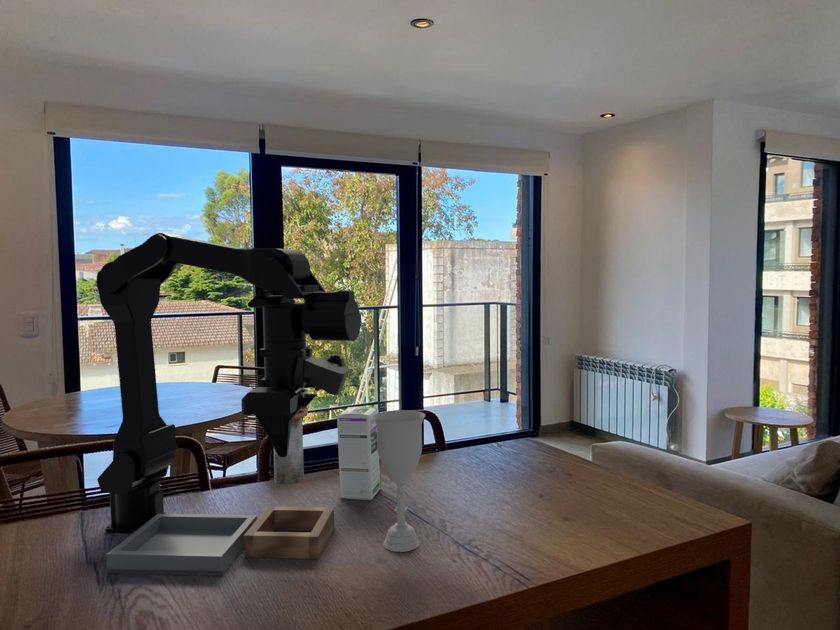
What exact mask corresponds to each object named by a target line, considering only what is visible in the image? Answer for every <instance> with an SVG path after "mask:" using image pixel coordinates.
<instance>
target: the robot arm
mask: <svg viewBox="0 0 840 630" xmlns="http://www.w3.org/2000/svg"><path fill="white" fill-rule="evenodd" d="M179 264H180V265H186V266H190V267H196V268H199V269H200V268H201V269H205V270H210V271H216V272H220V273H225V274H229V275H234V276H237V277H238V278H241V279H242V280H244V281H245V282H247V283H249V284H250V285H254V286H255V287H259V288H260V290H258V292H256V295H254V297H253V298H252V299H251V300H249V301H248V302H247V307H249V308H262V322H263V323H262V326H263V348H260V349H259V350H258V351H259V352H258V353H259V355H258V357H259V358H263V359H264V362H263V363H264V377H263V378H261V379H259V383H260V384H259V385H260V386H257V387H255V388H254V389H252V390H250V391H248V392H247V393H246V394H245V395H244V396H243V397H242V398H241V415H242V416H243V415H244V416H255V417H256V419H257V420H258V422H259V425H261V427H262V429H263V430H264V432H265V433H266V435H267V437H268V439H269V441H270V443H271V445H272V447H273V450H274V449H275V451H276V453H277V454H278V456H279V457H286V456H287V454H288V447H289V440H290V431H291V423H292V419H293V417H294V416H295V415H296V414H297V413H298V412H299V411H300V410H301V409H302V407H297V405H302V406H306V407H307V408H308V406H309V405H310V403H312V402H313V401H314V400H315V399H316V398H317V397H318V393H309V391H308V389H310V388H311V389H312V388H314V390H315V392H317V391H318V392H320V391H321V390H322V391H324V392H325V393H326V394H329V395H333V396H338V395H339V393H340V392H342V391H343V389H344V387H345V383H346V380H347V378H348V377H349V371H350V369H349V367H348V366H345V358H344V356H341V355H339V354H336V353H334V354H332V355H331V356H330V357H329V358H328V359H327V360H326V359H325V358H318V357H315V356H313V348H312V347H311V345H309V344H307V335H308V336H309V337H310V339H311V340H313V341H315V342H316V341H318V342H319V341H320V342H321V341H322V342H323V341H325V342H328V341H329V342H355V341H356V340H357V339H358V337H359V334H360V333H361V327H362V313H360V308H359V304H358V302H357V300H356V299H355V291H354V290H347V289H346V290H338V291H326V290H325V288H324V287H323V286H322V284H321V283H320V282H319V280H318V279H317V277H316V276H315V275H314V273H313V272H312V271H311V266H310V261H309V259H308V258H307V256H306V254H305V253H303V252H302V251H300V250H297V249H290V248H274V247H253V248H251V247H250V248H243V247H242V248H241V247H237V246H233V245H232V246H231V245H226V244H221V243H216V242H210V241H205V240H201V239H195V238H190V237H189V238H188V237H185V236H182V235H181V234H176V233H166V232H165V233H164V232H157V233H155V234H153V235H151V236H150V237H148V238H147V239H146V240H145V241H144V242H143V243H142V244H139V245H138V246H135V247H134V248H132V249H130V250H128V251H126V252H124V253H122V254H120V255H119V256H118V257H116V258H115V259H114V260H112V261H110V262H107V263H105V264H104V265H102V267H101V268H100V270H99V271H98V272H97V274H96V278H95V279H96V288H97V292H98V296H99V300H100V305H101V306H102V308H103V310H104V311H105V313H107V315H108V317H110V319H111V321H112V322H113V324H114V335H115V343H116V345H115V348H116V357H117V366H118V367H117V368H118V369H117V370H118V377H119V379H118V380H119V389H120V402H121V403H120V404H121V413H122V421H121V423H120V426H119V428H118V430H117V432H116V435H115V438H114V440H113V449H112V451H113V452H112V461H111V463H110V464H109V465H108V466H107V467H106V468H105V469H104V471H102V473H101V474H100V475H99V476H98V477H97V479H96V480H97V484H98V486H99V490H100V492H101V493H105V494H109V507H110V523H109V524H108V525H107V526H106V527H104V532H106V533H107V532H112V533H113V532H114V533H116V532H117V533H118V532H119V533H134V532H135V531H137V530H138V529H139V528H140V527H142V526H143V525H144V524H145V523H147V522H148V521H149V520H151V519H152V518H153V517H154V516H156V515H157V514H167V512H166V511H165V509H164V506H165V505H164V503H165V502H164V491H162V490H161V485H160V484H161V480H159V479H161V478H164V477H167V475H168V470H169V467H170V465H171V464H172V463H173V461H174V460H175V456H176V451H178V450H179V447H178V446H179V445H178V443H177V439H176V431H177V428H176V424H174V423H172V424H167V423H166V422H165V420H164V419H163V418H162V416H161V414H160V412H159V411H160V410H159V399H158V388H157V387H158V386H157V385H158V384H157V376H156V366H155V365H156V364H155V351H154V342H153V341H154V340H153V328H152V319H153V317H154V315H155V312H156V310H157V308H158V306H159V303H160V296H161V295H160V294H161V285H162V284H164V283H165V282H166V281H167V280H168V279H170V278H171V277H172V276H173V274H174V273H175V270H176V269H177V266H178V265H179ZM272 292H277V293H279V294H280V295H279V294H278V295H277V294H275V295H274V294H273V293H272ZM295 299H297V300H299V299H303V302H296V300H295ZM303 421H304V417H302V423H303Z"/></svg>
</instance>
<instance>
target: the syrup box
mask: <svg viewBox="0 0 840 630" xmlns="http://www.w3.org/2000/svg"><path fill="white" fill-rule="evenodd" d="M377 413H379V408H377V407H371V406H351V407H350V406H347V408H346V409H345V410H343V411H342V412H340V413H339V414H337V415H336V420H337V421H336V423H337V424H336V425H337V448H338V449H337V450H338V451H337V452H338V473H339V496H340V498H341V499H348V500H361V501H362V500H363V501H373V499H374V497H375V496H376V495H377V493H379V491H380V490H381V489H382V475H381V470H382V469H381V461H380V458H379V455H378V452H377V424H376V422H375V420H374V419H373V416H374V415H375V414H377Z"/></svg>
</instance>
